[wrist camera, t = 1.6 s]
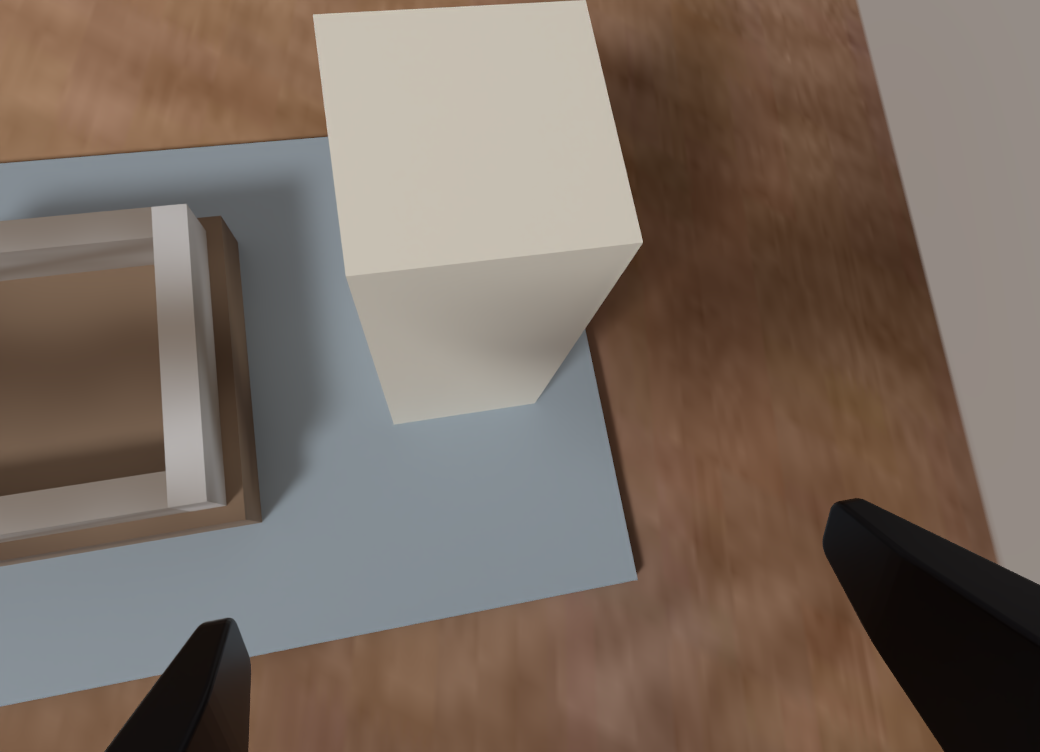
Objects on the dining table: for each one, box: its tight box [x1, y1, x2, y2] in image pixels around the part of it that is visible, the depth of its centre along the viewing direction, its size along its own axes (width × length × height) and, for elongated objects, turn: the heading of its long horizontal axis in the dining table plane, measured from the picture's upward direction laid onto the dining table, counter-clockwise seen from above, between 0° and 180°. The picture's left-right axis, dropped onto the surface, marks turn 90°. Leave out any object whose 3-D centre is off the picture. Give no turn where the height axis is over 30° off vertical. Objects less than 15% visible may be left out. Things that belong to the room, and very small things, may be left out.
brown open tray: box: [0, 204, 262, 567], centre depth 20 cm, size 10×10×4 cm
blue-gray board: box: [0, 137, 638, 706], centre depth 23 cm, size 18×24×1 cm
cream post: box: [313, 0, 643, 425], centre depth 18 cm, size 5×5×13 cm
